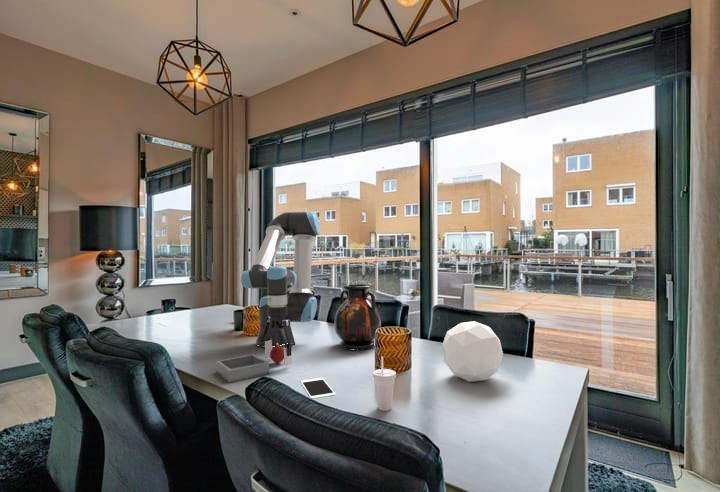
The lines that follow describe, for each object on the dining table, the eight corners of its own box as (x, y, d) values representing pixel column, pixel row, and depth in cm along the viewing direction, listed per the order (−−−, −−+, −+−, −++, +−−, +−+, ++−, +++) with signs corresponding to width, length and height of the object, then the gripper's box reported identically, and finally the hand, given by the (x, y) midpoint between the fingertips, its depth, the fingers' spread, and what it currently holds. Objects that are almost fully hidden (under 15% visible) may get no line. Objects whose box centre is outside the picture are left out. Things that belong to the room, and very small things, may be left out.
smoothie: (372, 403, 103) (371, 353, 103) (394, 402, 103) (393, 353, 104) (374, 413, 96) (374, 360, 97) (398, 412, 97) (397, 359, 97)
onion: (288, 362, 143) (288, 342, 143) (279, 366, 137) (279, 345, 138) (276, 361, 145) (276, 340, 145) (267, 365, 140) (266, 344, 140)
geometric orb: (476, 405, 116) (464, 366, 107) (438, 367, 133) (424, 330, 123) (519, 371, 121) (512, 330, 111) (477, 338, 138) (467, 300, 128)
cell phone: (322, 379, 124) (322, 377, 124) (336, 396, 109) (336, 394, 109) (300, 382, 122) (300, 380, 122) (310, 400, 107) (310, 398, 107)
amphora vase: (324, 348, 164) (323, 286, 164) (352, 338, 181) (351, 282, 182) (363, 355, 151) (363, 288, 152) (389, 344, 169) (389, 284, 170)
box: (253, 364, 141) (253, 354, 141) (268, 373, 130) (268, 362, 130) (216, 372, 132) (216, 361, 132) (229, 382, 121) (229, 370, 121)
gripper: (252, 304, 148) (252, 356, 147) (287, 310, 130) (287, 369, 130) (268, 302, 153) (269, 352, 153) (304, 307, 136) (304, 364, 135)
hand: (277, 360), depth 141 cm, fingers open, 13 cm apart
